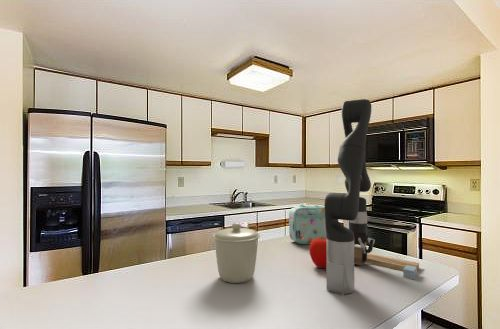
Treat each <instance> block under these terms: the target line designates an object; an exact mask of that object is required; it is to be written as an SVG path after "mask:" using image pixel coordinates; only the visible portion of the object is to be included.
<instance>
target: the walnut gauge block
mask: <svg viewBox="0 0 500 329" xmlns="http://www.w3.org/2000/svg"><path fill="white" fill-rule="evenodd" d="M365 262H366V261H365ZM365 262H363V251H362V248H361V246H359V245H358V246H356V245H355V246H354V265H357V266H358V265H359V266H362V265H363V264H364V263H365ZM365 264H366V263H365Z"/></svg>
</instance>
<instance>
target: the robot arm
mask: <svg viewBox="0 0 500 329" xmlns="http://www.w3.org/2000/svg"><path fill="white" fill-rule="evenodd" d="M371 116H372V102H371V101H370V100H369V99H366V98H365V99H364V98H362V99H353V100H345V101H344V102H343V103H342V106H341V120H342V125H343V131H344V138H345V139H344V140H343V141H342V142H341V144H340V145H339V150H338V155H337V164H338V167H339V168H340V171H341V172H342V174H343V175H344V178H345V179H344V186H345V190H346V192H347V193H346V192H345V193H344V192H328V193H327V194H326V196H325V198H324V205H323V206H324V208H325V227H326V243H327V246H326V249H327V263H326V268H325V271H326V272H325V274H326V290H327V291H329V292H332V293H336V294H339V295H342V296H345V295H348V294H352V293H354V292H355V264H354V247H355V246H356V245H358V246H359V247H361V248H362V251H363V262H365V261H366V260H367V253H369V254H371V252H373V249H374V245H375V242H376V239H375V238H370V237H369V235H368V214H367V213H368V212H367V199H366V198H365V197H362V196H360V193H367V192H369V191H370V189H371V187H372V183H371V180H370V177H369V174H368V170H367V164H366V163H367V162H366V143H367V135H368V134H367V133H368V129H369V126H370V121H371ZM354 123H357V124H356V126H355V128H354V129H353V124H354ZM339 220H341V221H348V227H346V226H344V225H343V224H342V223H341V222H339ZM367 241H368V246H367V243H366V242H367ZM367 247H368V248H367Z"/></svg>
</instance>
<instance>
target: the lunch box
mask: <svg viewBox="0 0 500 329" xmlns="http://www.w3.org/2000/svg"><path fill="white" fill-rule="evenodd" d="M288 232H289V238H290V240H291V241H294V242H295V243H297V244H299V245H310V244H311V242H312V241H313V240H314V239H315V238H318V237H319V238H320V237H323V238H325V237H326V227H325V208H324V205H323V206H322V205H304V204H299V206H296V207H295V206H294V207H292V208H291V209H289V213H288Z"/></svg>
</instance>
